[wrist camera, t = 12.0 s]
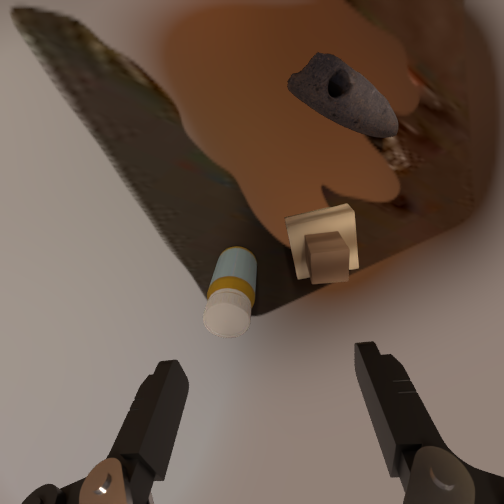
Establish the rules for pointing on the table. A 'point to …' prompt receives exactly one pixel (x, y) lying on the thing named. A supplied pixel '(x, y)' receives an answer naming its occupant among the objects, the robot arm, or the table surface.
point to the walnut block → (327, 257)
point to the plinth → (321, 222)
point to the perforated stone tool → (343, 96)
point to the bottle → (231, 293)
